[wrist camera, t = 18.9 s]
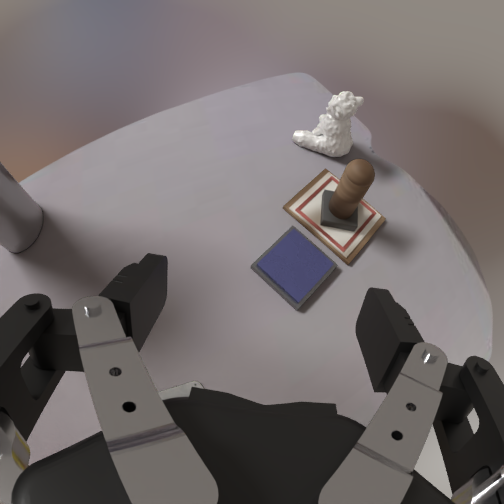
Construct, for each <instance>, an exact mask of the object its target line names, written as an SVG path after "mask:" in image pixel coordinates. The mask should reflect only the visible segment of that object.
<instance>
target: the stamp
mask: <svg viewBox="0 0 504 504" xmlns="http://www.w3.org/2000/svg"><path fill="white" fill-rule="evenodd" d="M374 177H375V173H374V169H373V167H372V165H371V164H370V163H369V162H368V161H366V160H363V159H355V160H352V161H351V162H350V163H349V164H348V165H347V166H346V168H345V171H344V173H343V175H342V177H341V179H340V181H339V183H338V185H337V187H336V189H335V191H330V190H325V189H324V192H323V194H322V204H321V220H320V225H322V226H327V227H332V228H338V229H343V230H348V231H355V230H356V229H357V227H358V205H359V203H360V201H361V200H362V198H363V197H364V195H365V194H366V192H367V190H368V189H369V187H370V186H371V184H372V182H373V181H374Z"/></svg>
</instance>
